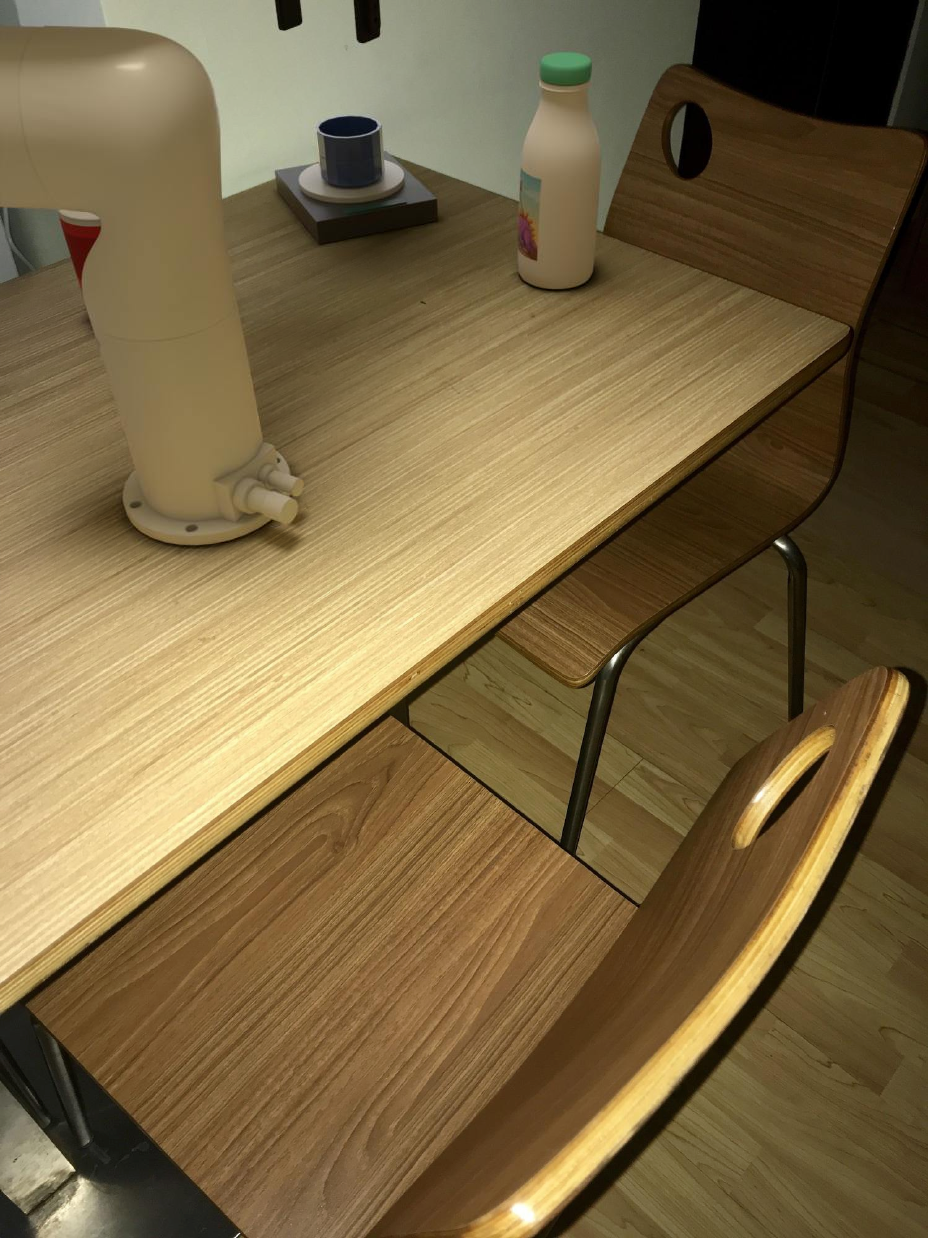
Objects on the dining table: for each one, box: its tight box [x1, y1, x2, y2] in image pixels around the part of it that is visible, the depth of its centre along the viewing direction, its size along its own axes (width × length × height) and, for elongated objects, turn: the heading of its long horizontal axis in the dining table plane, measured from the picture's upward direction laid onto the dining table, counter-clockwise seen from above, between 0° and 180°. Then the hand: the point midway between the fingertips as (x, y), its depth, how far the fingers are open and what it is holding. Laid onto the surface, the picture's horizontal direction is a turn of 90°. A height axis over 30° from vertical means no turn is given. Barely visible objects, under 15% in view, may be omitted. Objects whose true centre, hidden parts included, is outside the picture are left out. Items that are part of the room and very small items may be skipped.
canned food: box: [56, 209, 102, 299], centre depth 93 cm, size 8×8×11 cm
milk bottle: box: [517, 51, 602, 290], centre depth 95 cm, size 8×8×20 cm
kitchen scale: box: [274, 150, 439, 245], centre depth 114 cm, size 16×14×3 cm
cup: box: [314, 114, 385, 188], centre depth 110 cm, size 7×7×6 cm
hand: (329, 33), depth 99 cm, fingers open, 9 cm apart
